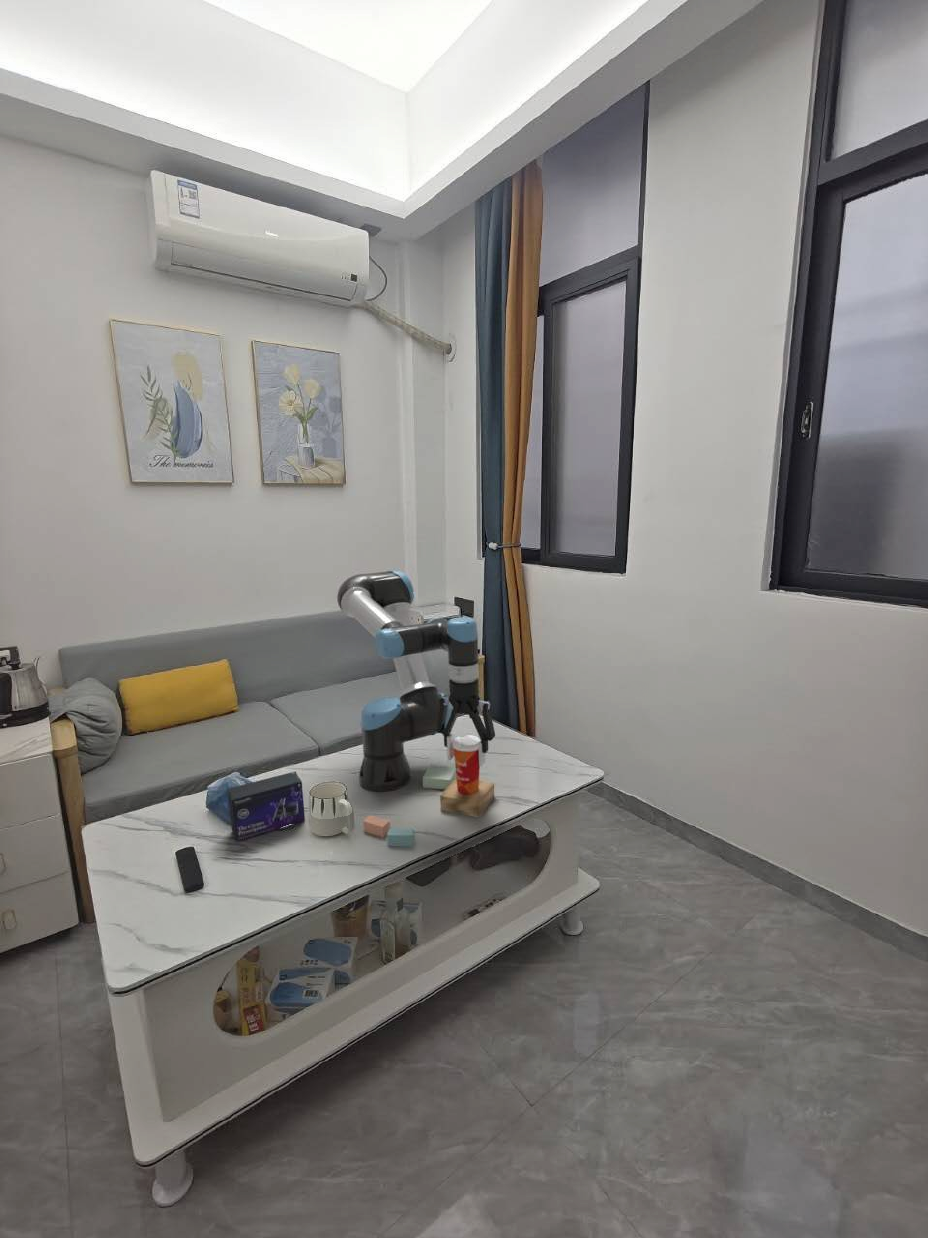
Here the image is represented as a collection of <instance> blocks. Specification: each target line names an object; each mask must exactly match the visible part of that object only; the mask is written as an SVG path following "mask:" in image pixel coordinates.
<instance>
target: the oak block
mask: <svg viewBox="0 0 928 1238" xmlns="http://www.w3.org/2000/svg"><path fill="white" fill-rule="evenodd" d="M494 798H495V783H494V782H488V781H484V780H483V781H482V780H479V787H478V791H477V792H476V793H473V794H462V793H460V792H459V791H458V789H457V779H455V780H454V781H453V782H452V783H451V784H450V785H449V786H448V787H447V788H446V789H444V791H443V792H442V793H441V794H440V795H439V800H440V801H439V802H440V803H439V804H440V805H439V806H440V811H441V810H442V811H445V812H446V811H447V812H451V813H456V814H460V815H461V814H462V815H466V816H471V817H476V818H480V817H481V816H482V814H483V813H484V812H485V810H486V809H487V808H488V806H489V805H490V804H491V802H492V801H493V800H494Z"/></svg>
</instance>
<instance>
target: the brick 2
mask: <svg viewBox="0 0 928 1238" xmlns="http://www.w3.org/2000/svg"><path fill="white" fill-rule="evenodd" d="M386 839H387V841H386V842H387V846H388V847H390V846H391V847H414V844H415V840H416V837H415V827H409V828H408V827H390V828H389V831H388V834H387V835H386Z"/></svg>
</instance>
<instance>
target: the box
mask: <svg viewBox="0 0 928 1238" xmlns="http://www.w3.org/2000/svg"><path fill="white" fill-rule="evenodd" d="M226 792H227V798H228V806H229V814H230V824H231V831H232V833H233V837H234V839H235V842H236V843H238V842H242V841H245V840H248V839H252V838H256V837H259V836H261V835H262V836H263V835H265V834H268V833H269V834H270V833H271V832H275V831H279V830H281V829H280V828H281V827H283V826H286V825H289V824H295V825H298V824H299V825H300V824H302V823H305V822H306V819H305V806H304V805H305V804H304V795H303V794H304V793H303V792H304V790H303V780H301V778H300V777H299V775H298V773H297V771H291V772H288V773H283V774H279V775H276V776H272V777H269V778H263V779H261V780H256V781H252V782H248V783H245V784H241V785H236V786H233V787H229V788H227V791H226ZM295 825H294V826H295Z"/></svg>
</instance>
